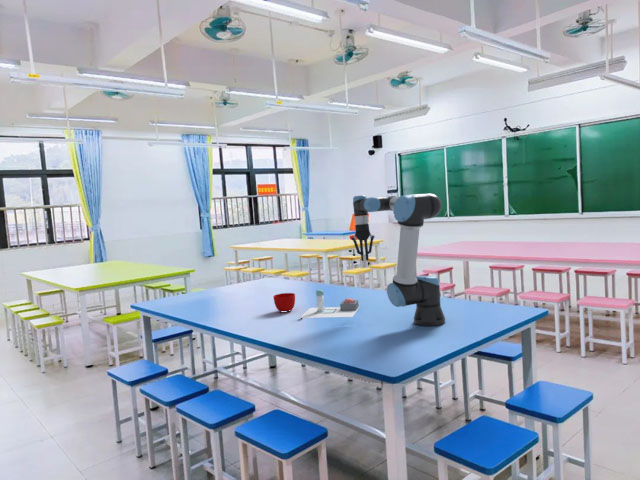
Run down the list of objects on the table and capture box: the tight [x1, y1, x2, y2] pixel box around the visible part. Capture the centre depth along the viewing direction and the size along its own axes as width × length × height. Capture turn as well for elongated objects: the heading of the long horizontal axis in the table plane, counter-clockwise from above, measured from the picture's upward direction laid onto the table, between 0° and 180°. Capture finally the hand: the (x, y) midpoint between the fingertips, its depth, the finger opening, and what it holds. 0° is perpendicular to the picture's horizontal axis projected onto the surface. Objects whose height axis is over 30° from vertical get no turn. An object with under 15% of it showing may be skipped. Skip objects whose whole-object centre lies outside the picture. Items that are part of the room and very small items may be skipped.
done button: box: [344, 297, 354, 303], centre depth 266 cm, size 5×5×4 cm
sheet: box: [298, 306, 360, 319], centre depth 262 cm, size 24×30×1 cm
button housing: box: [339, 299, 360, 312], centre depth 266 cm, size 9×9×4 cm
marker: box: [315, 289, 325, 312], centre depth 265 cm, size 4×4×12 cm
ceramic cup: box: [273, 292, 296, 312], centre depth 279 cm, size 13×17×10 cm
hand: (365, 266), depth 255 cm, fingers closed
